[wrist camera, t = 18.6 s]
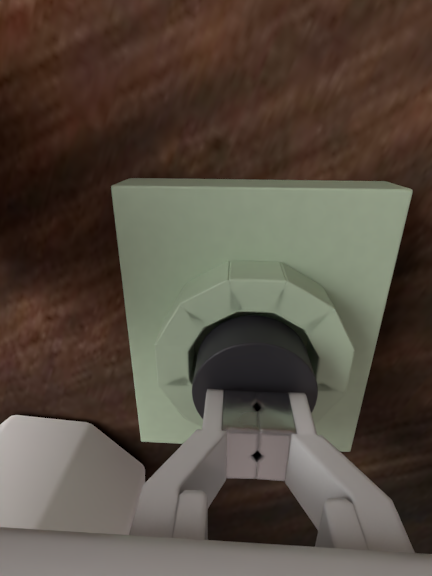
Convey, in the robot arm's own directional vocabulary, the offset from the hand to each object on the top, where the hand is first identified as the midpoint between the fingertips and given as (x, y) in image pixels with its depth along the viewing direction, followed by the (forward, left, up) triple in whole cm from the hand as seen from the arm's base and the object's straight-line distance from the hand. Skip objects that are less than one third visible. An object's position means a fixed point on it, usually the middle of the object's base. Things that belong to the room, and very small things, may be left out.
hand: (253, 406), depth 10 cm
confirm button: (0, 0, -2) cm, 2 cm away
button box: (0, 0, -6) cm, 6 cm away
